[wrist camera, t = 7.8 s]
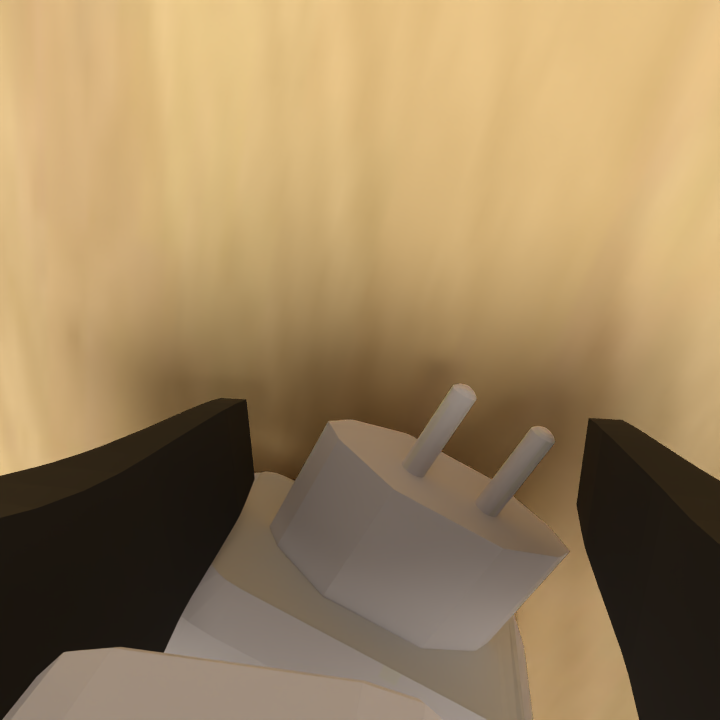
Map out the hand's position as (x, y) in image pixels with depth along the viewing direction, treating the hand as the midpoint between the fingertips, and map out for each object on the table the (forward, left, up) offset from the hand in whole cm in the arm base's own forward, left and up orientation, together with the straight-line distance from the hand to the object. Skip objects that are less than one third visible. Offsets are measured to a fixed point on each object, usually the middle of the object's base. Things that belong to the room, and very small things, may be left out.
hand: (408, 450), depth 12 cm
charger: (-5, +2, -2) cm, 6 cm away
